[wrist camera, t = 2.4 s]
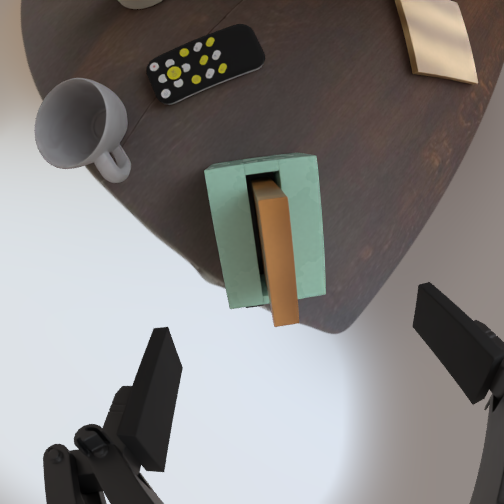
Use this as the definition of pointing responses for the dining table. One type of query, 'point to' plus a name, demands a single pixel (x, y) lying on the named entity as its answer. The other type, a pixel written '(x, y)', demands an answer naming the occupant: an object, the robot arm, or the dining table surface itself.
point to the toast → (276, 249)
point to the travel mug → (138, 3)
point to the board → (437, 39)
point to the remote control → (205, 63)
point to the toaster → (245, 227)
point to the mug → (83, 128)
